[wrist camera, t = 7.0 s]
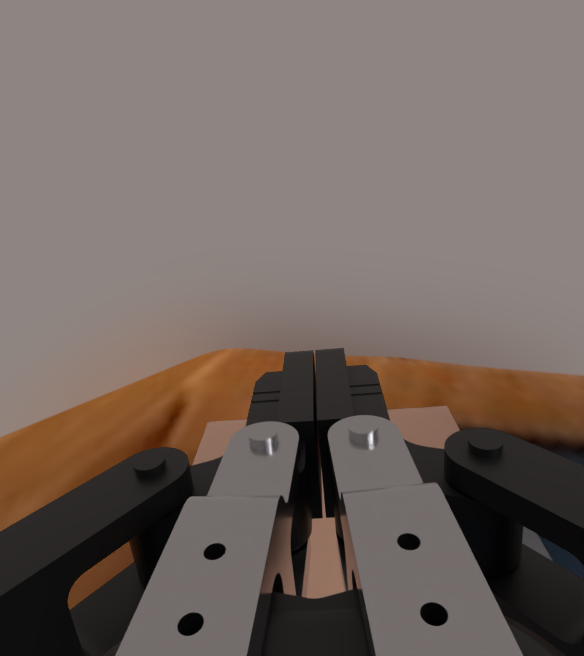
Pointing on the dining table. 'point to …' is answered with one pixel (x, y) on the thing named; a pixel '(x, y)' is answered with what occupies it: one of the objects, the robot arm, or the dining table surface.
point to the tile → (324, 562)
